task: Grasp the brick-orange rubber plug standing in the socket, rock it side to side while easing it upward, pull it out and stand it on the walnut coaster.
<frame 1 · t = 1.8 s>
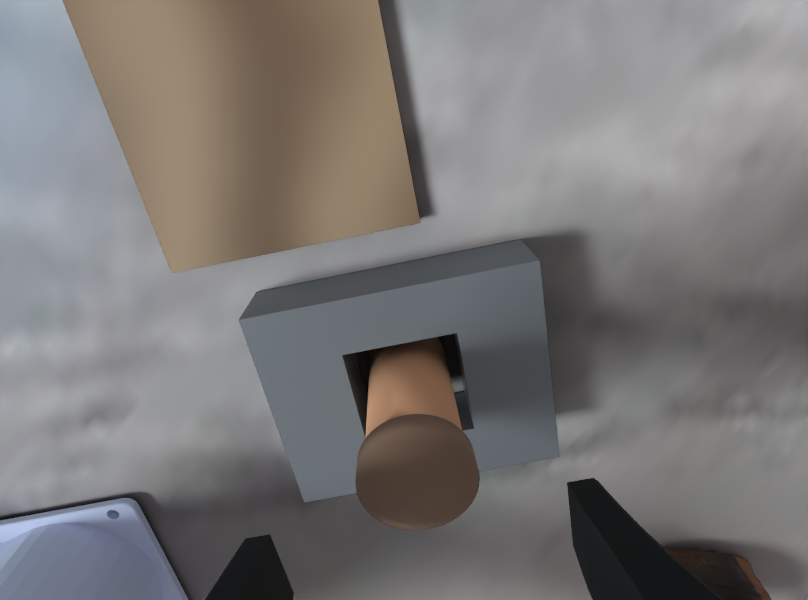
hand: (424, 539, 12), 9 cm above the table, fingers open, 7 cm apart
coaster: (259, 113, 17), on the table
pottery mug: (648, 597, 27), on the table
socket: (407, 358, 20), on the table
plug: (411, 409, 17), in the socket
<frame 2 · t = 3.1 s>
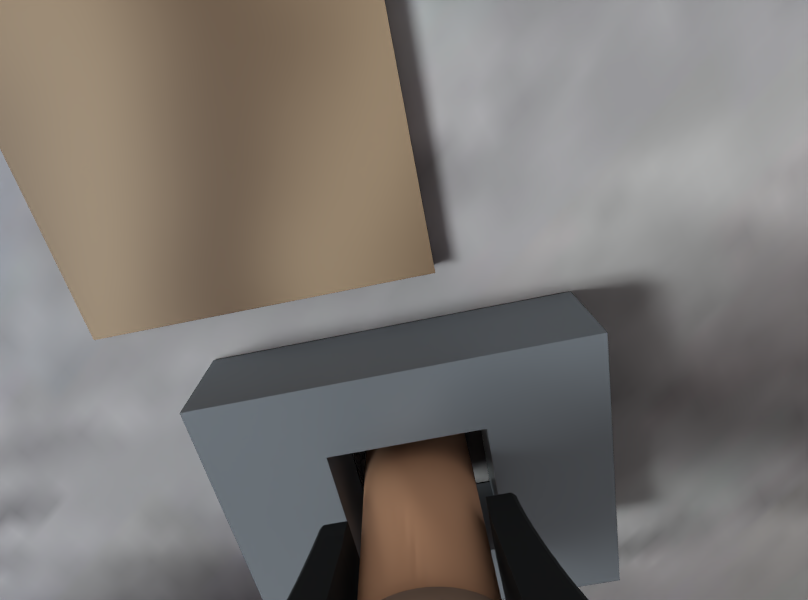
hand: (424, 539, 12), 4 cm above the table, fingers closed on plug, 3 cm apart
coaster: (209, 122, 12), on the table
socket: (416, 442, 16), on the table
plug: (423, 535, 12), in the socket, touching gripper
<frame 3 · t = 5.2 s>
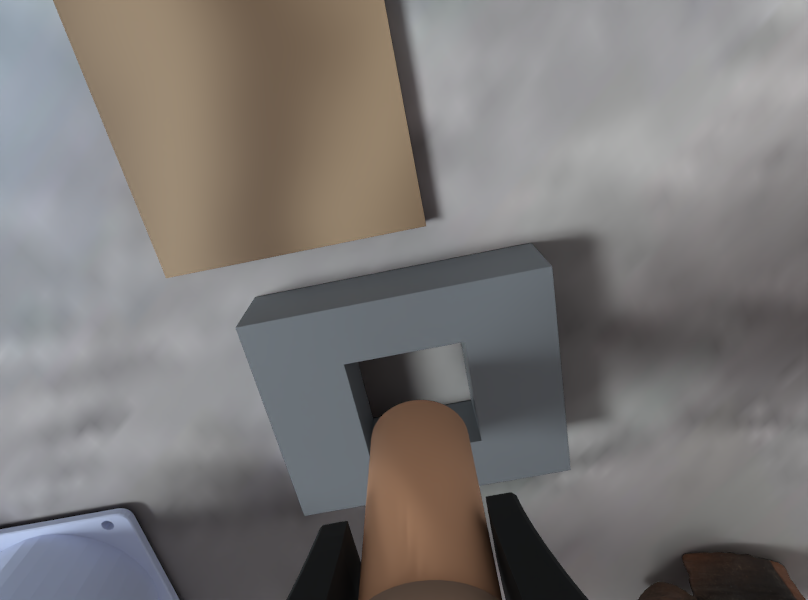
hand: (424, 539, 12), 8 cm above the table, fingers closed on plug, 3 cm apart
coaster: (257, 111, 16), on the table
socket: (412, 366, 20), on the table
plug: (425, 532, 12), point 8 cm above the table, touching gripper
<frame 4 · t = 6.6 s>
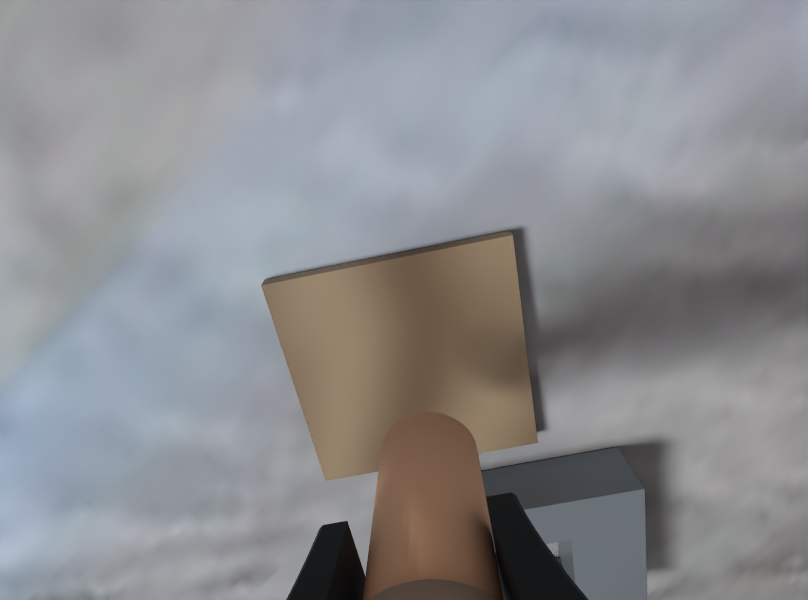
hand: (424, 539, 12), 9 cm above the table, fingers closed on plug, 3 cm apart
coaster: (409, 362, 20), on the table
socket: (513, 534, 24), on the table
plug: (431, 540, 13), point 8 cm above the table, tilted 5°, touching gripper
when the fingers open (5 cm above the table, at t = 7.5 s): plug stays where it is, resting on coaster.
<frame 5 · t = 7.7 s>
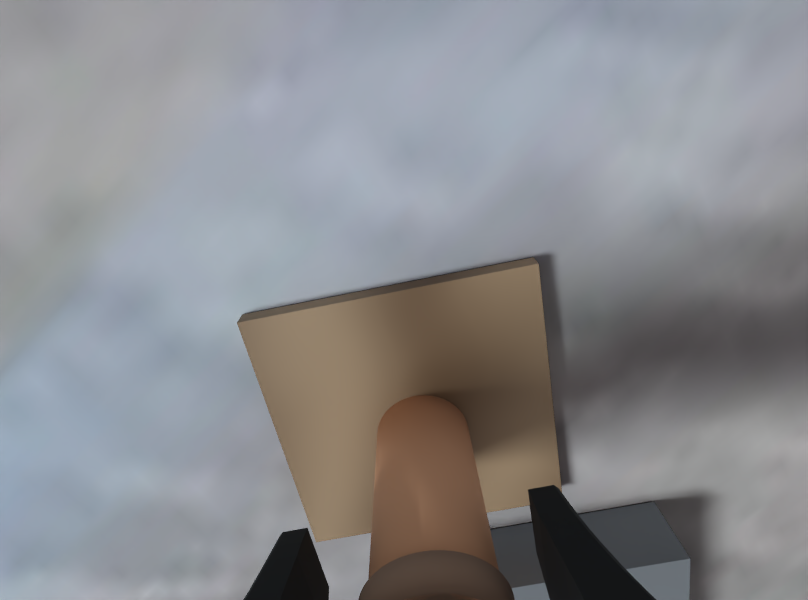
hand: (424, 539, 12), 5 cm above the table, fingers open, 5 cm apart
coaster: (413, 408, 17), on the table
socket: (531, 596, 21), on the table
plug: (429, 514, 14), on the coaster, point 4 cm above the table
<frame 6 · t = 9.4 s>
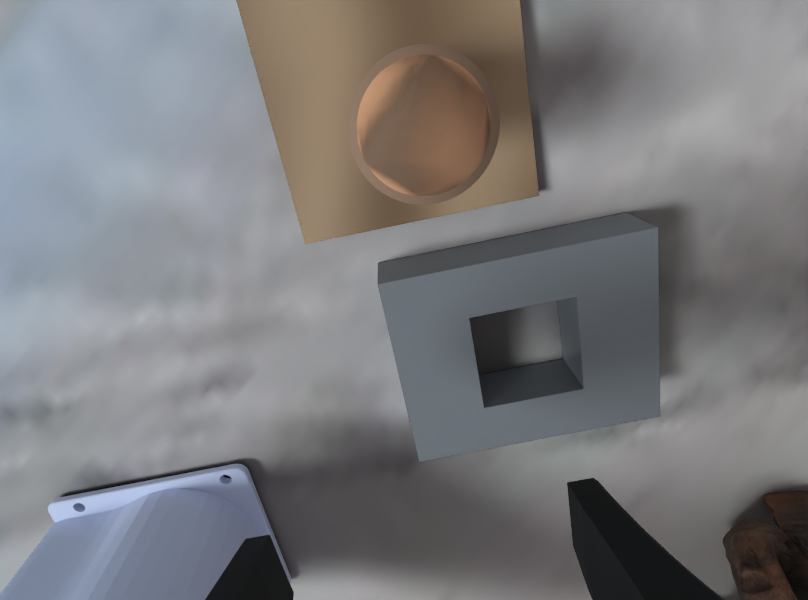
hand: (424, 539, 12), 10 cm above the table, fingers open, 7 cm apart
coaster: (396, 94, 18), on the table
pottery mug: (755, 544, 28), on the table
socket: (512, 327, 22), on the table
plug: (412, 118, 15), on the coaster, point 4 cm above the table
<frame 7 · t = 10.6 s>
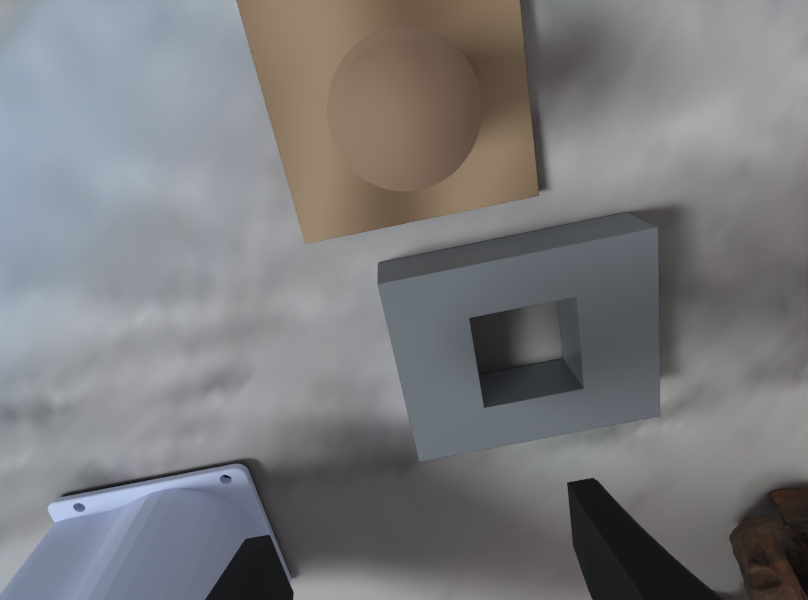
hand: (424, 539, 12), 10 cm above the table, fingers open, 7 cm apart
coaster: (396, 94, 18), on the table
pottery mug: (762, 541, 28), on the table
socket: (512, 327, 22), on the table
plug: (405, 112, 14), on the coaster, point 4 cm above the table
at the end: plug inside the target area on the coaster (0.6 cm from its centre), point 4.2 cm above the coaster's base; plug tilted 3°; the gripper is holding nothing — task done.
